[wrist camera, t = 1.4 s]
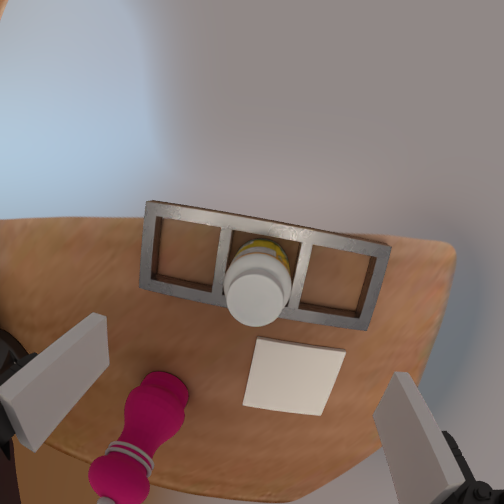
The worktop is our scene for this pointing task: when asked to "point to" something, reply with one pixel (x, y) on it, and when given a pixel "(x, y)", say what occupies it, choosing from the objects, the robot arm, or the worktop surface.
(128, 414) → the pepper mill
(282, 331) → the worktop surface
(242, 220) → the rack frame
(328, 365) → the white mat
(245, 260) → the supplement bottle
